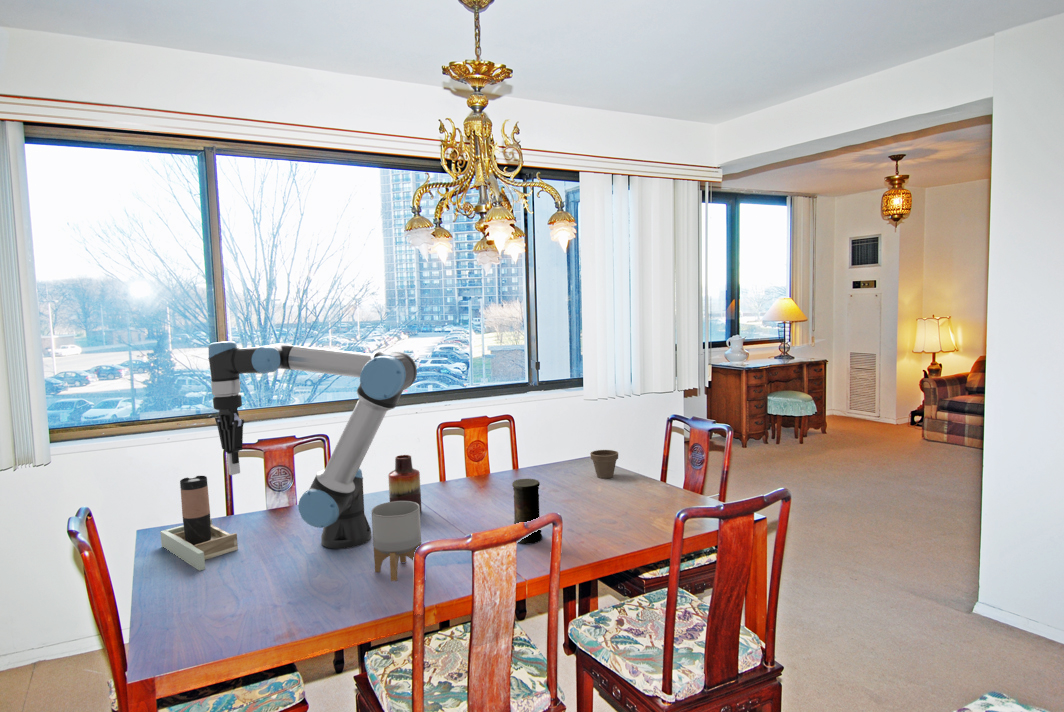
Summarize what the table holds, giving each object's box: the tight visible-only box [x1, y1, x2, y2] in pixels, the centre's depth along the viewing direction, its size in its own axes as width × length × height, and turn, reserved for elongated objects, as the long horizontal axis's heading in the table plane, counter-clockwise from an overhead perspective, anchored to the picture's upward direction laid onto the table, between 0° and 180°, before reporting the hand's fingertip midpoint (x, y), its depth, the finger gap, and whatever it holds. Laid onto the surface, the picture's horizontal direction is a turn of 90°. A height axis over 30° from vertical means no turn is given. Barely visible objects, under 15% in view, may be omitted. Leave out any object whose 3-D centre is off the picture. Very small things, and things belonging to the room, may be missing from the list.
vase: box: [387, 454, 422, 515], centre depth 226 cm, size 11×11×20 cm
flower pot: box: [590, 449, 619, 479], centre depth 265 cm, size 12×11×10 cm
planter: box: [371, 501, 422, 582], centre depth 178 cm, size 13×13×18 cm
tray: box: [173, 524, 239, 560], centre depth 200 cm, size 20×12×5 cm, turn 49°
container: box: [511, 478, 543, 545], centre depth 199 cm, size 9×9×18 cm
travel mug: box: [179, 475, 211, 545], centre depth 202 cm, size 8×8×20 cm
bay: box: [159, 517, 213, 572], centre depth 198 cm, size 29×15×5 cm, turn 49°
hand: (234, 473), depth 191 cm, fingers closed
